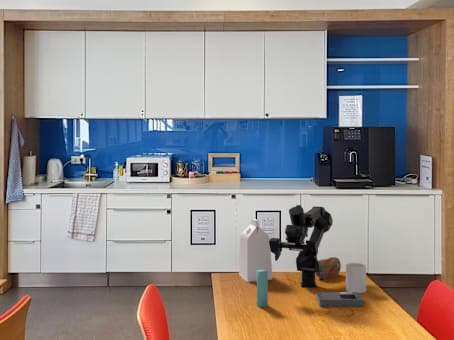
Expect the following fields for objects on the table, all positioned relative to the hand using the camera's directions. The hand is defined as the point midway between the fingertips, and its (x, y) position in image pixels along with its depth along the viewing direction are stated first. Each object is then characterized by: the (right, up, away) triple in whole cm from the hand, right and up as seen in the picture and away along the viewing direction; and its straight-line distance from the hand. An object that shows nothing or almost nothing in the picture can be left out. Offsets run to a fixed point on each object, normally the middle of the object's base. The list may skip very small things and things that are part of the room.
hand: (287, 261), depth 220 cm
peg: (-9, -16, -3) cm, 19 cm away
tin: (+22, -13, +38) cm, 46 cm away
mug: (+29, -14, +17) cm, 37 cm away
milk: (-10, -14, +39) cm, 43 cm away
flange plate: (+20, -16, -1) cm, 25 cm away
